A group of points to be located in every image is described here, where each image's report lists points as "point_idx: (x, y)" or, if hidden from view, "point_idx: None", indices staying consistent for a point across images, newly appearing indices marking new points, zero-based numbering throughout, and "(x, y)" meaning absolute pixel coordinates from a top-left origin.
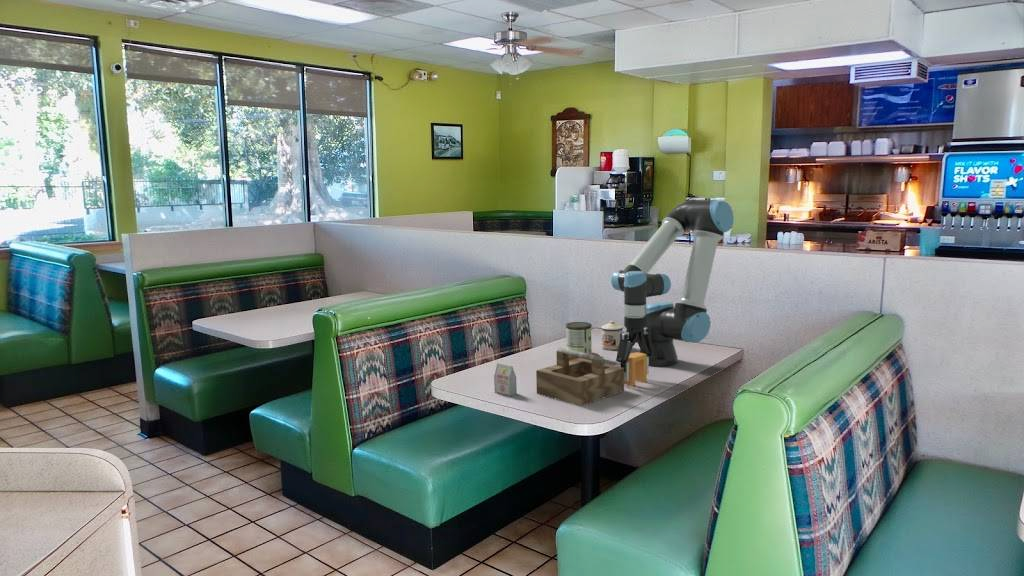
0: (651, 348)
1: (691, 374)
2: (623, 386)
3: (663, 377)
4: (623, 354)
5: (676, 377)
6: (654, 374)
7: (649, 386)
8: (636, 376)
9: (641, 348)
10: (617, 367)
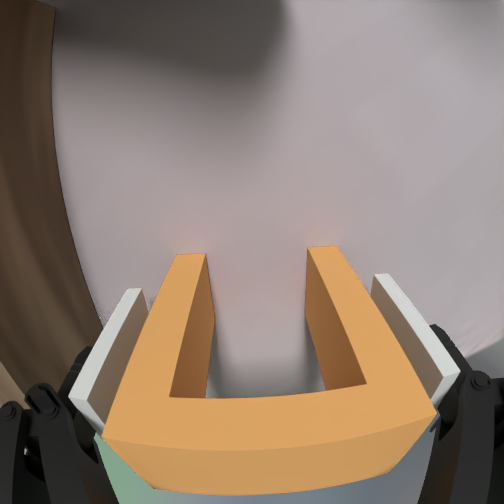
0: (493, 447)
1: (494, 339)
2: (91, 346)
3: (438, 311)
4: (37, 495)
5: (453, 340)
6: (466, 249)
7: (261, 366)
8: (314, 275)
9: (445, 476)
10: (18, 400)
